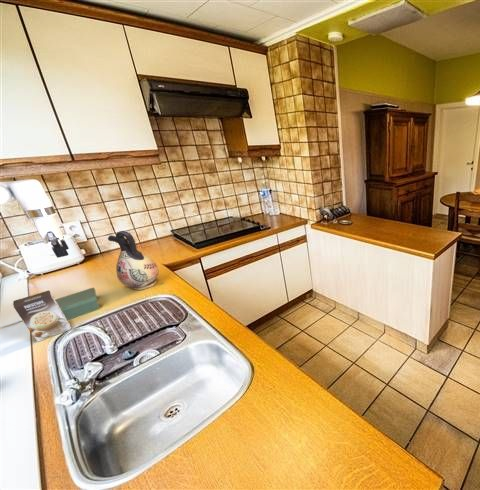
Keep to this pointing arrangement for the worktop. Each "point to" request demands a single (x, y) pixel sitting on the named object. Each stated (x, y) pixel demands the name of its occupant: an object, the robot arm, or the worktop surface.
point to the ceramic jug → (133, 263)
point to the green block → (78, 303)
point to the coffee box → (42, 315)
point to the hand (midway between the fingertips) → (63, 253)
